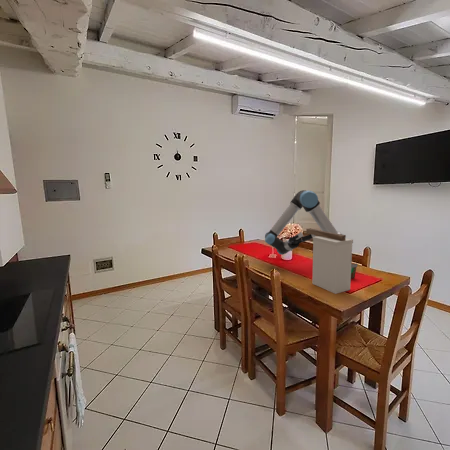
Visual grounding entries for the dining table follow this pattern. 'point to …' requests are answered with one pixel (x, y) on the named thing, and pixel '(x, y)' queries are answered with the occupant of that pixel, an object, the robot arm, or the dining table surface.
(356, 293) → the dining table surface
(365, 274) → the dining table surface
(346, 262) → the beige lidded bin
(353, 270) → the food container
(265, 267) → the dining table surface
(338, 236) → the walnut bar
